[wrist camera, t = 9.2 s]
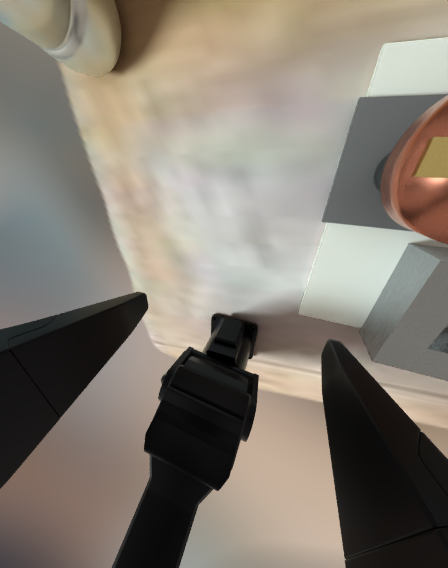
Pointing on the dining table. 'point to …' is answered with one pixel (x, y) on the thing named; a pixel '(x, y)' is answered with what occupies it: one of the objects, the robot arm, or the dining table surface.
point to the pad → (371, 158)
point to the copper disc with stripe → (419, 175)
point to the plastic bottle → (69, 30)
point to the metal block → (412, 314)
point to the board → (368, 240)
